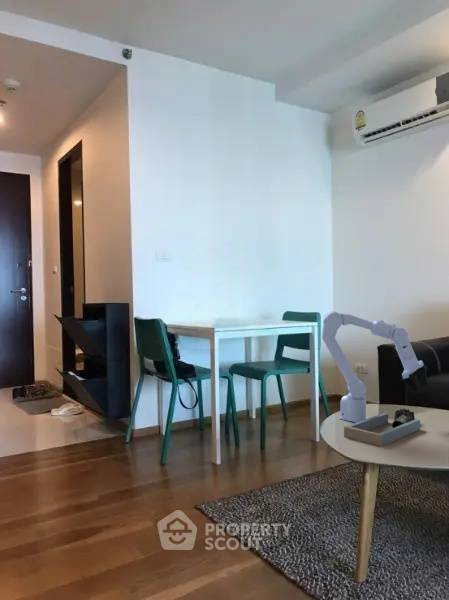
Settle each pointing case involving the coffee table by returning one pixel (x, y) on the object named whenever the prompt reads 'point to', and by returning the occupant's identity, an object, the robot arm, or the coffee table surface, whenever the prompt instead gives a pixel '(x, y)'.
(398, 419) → the jagged brown rock
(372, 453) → the coffee table surface
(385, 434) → the grey rectangular tray
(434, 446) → the coffee table surface
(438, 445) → the coffee table surface
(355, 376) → the robot arm
